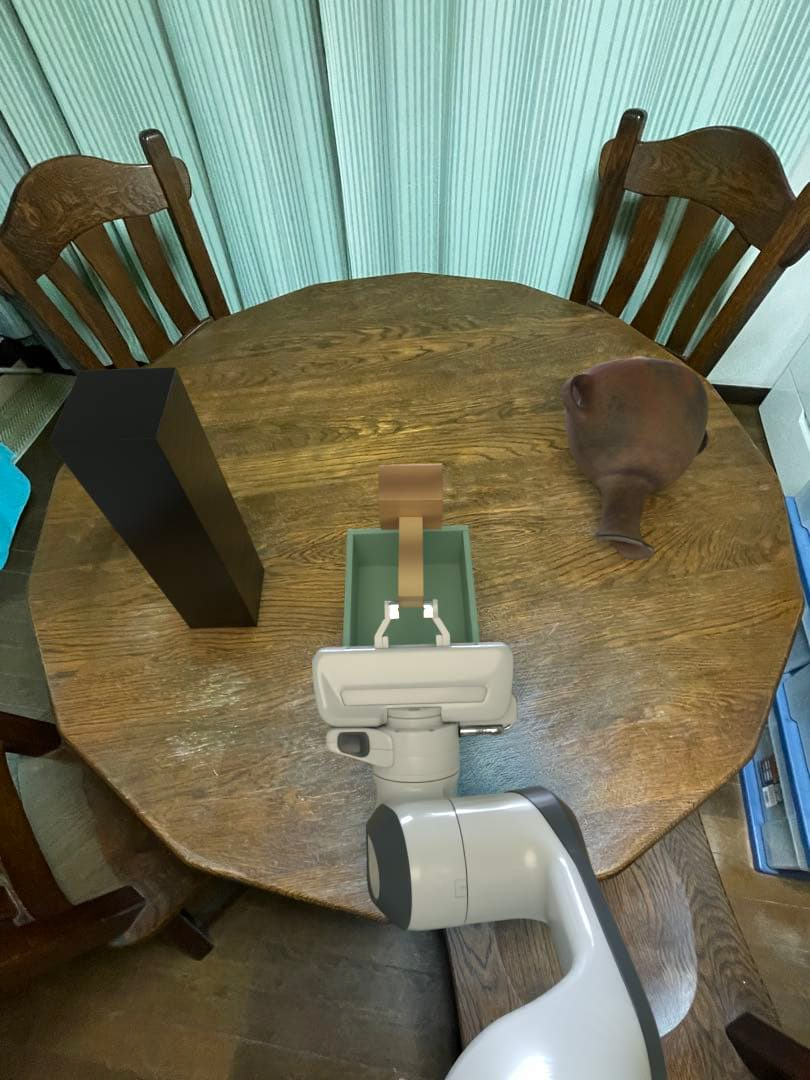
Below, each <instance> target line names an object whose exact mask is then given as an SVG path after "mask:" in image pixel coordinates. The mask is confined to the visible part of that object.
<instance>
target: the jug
mask: <svg viewBox="0 0 810 1080" xmlns="http://www.w3.org/2000/svg"><path fill="white" fill-rule="evenodd" d="M707 392H708V391H707V388H706V387H705V384H704V383H703V381H702V380H701V378H700V377H699V376H698V375H697V373H695V371H693V370H692V369H690V368H688V367H687V366H685V365H683V364H681V363H678V362H674V361H671V360H668V359H661V358H653V357H652V358H651V357H645V356H642V355H638V356H637V355H636V356H633V357H627V358H618V359H612V360H608V361H604V362H601V363H598V364H596V365H594V366H591V367H589V368H587V369H586V370H584V371H583V372H582V373H579V374H575V375H573V376H572V377H570V378H568V380H566V381H565V382H564V384H563V386H562V391H561V398H562V403H563V405H564V423H565V432H566V439H567V444H568V446H569V449H570V452H571V454H572V457H573V459H574V462H575V464H576V466H577V468H578V469H579V471H580V472H581V474H583V476H584V477H585V478H586V479H587V480H588V481H589V482H591V483H592V484H593V485H595V486H597V487H598V488H599V489H598V490H599V491H598V493H599V495H601V496H602V498H601V499H602V503H601V504H602V505H601V515H600V522H599V524H598V528H597V530H596V531H595V533H594V535H593V538H594V539H595V540H596V541H597V542H599V541H607V542H608V543H609V542H610V543H611V544H612V545H613V546H614V547H615V549H616V550H617V551H618V552H619V554H620V556H622V558H625V559H627V560H630V561H636V560H646V559H651V558H653V556H654V555H655V553H656V552H655V551H654V546H653V545H651V544H649V543H647V542H646V541H645V540H644V539H643V537H642V531H641V521H642V517H643V512H644V507H645V504H646V500H647V499H648V497H649V495H651V494H655V493H658V492H660V491H662V490H664V489H666V488H668V487H669V486H671V485H673V484H674V482H676V481H677V480H678V479H679V478H680V477H681V476H682V475H683V474H684V473H685V472H686V470H687V469H688V468H690V465H691V464H692V462H693V461H694V459H695V458H697V457H698V456H700V455H701V454H702V453H703V452H704V451H705V449H706V448H707V446H708V443H709V434H708V430H707V426H708V422H709V398H708V393H707Z"/></svg>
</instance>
